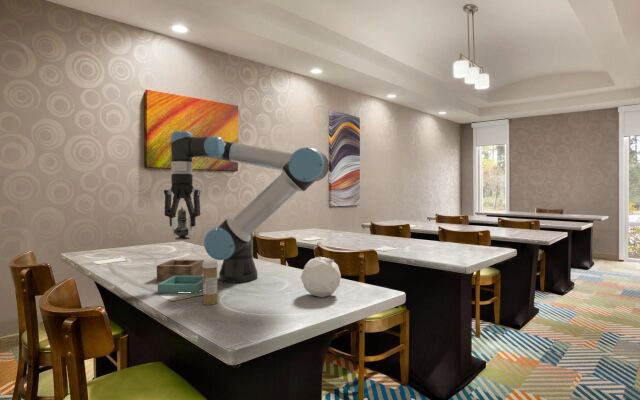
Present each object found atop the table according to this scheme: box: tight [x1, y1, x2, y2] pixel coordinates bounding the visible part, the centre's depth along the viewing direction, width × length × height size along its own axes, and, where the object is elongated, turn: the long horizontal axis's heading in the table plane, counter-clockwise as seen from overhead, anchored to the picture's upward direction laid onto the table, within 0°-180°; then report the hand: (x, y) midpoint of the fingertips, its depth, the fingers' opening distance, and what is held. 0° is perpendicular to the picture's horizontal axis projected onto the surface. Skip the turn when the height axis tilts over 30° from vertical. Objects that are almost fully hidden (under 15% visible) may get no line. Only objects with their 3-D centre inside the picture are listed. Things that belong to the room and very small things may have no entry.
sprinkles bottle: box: [202, 259, 219, 306], centre depth 128 cm, size 5×5×13 cm
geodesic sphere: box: [300, 256, 342, 298], centre depth 137 cm, size 14×14×14 cm
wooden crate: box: [156, 259, 205, 282], centre depth 166 cm, size 14×14×6 cm
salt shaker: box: [174, 206, 190, 241], centre depth 152 cm, size 6×6×12 cm
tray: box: [157, 275, 203, 294], centre depth 148 cm, size 14×14×3 cm
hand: (182, 235), depth 153 cm, fingers closed on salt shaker, 6 cm apart
